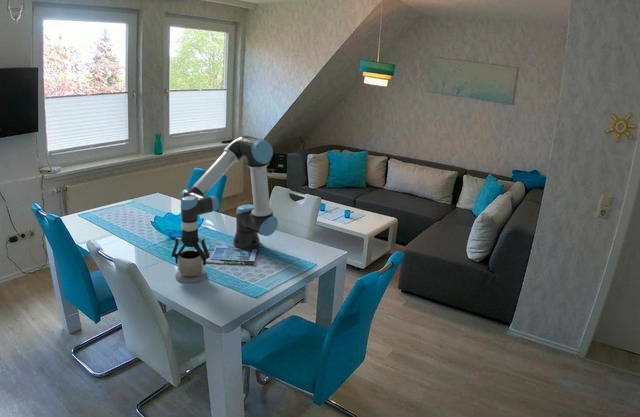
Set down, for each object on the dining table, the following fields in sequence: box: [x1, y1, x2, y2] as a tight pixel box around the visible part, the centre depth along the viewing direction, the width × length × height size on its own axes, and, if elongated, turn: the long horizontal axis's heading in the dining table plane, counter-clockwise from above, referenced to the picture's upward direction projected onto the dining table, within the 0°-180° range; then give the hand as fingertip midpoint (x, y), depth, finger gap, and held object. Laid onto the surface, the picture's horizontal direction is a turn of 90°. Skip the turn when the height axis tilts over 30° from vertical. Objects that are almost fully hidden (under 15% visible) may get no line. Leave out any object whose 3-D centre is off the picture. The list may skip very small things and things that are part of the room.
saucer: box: [174, 270, 208, 284], centre depth 247 cm, size 15×15×1 cm
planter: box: [179, 249, 202, 276], centre depth 245 cm, size 11×11×10 cm
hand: (191, 270), depth 246 cm, fingers closed on planter, 11 cm apart
